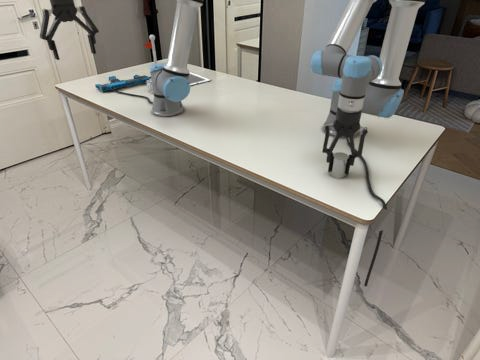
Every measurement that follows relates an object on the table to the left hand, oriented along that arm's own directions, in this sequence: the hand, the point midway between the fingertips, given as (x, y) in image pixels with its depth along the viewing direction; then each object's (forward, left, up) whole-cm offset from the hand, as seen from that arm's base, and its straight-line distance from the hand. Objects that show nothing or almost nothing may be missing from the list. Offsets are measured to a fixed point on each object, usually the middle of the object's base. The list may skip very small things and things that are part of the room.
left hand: (76, 56), depth 128 cm
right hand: (+88, +50, -32) cm, 106 cm away
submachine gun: (-60, +43, -33) cm, 81 cm away
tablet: (-44, +76, -33) cm, 94 cm away
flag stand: (-34, +52, -33) cm, 71 cm away
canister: (+88, +50, -33) cm, 106 cm away
